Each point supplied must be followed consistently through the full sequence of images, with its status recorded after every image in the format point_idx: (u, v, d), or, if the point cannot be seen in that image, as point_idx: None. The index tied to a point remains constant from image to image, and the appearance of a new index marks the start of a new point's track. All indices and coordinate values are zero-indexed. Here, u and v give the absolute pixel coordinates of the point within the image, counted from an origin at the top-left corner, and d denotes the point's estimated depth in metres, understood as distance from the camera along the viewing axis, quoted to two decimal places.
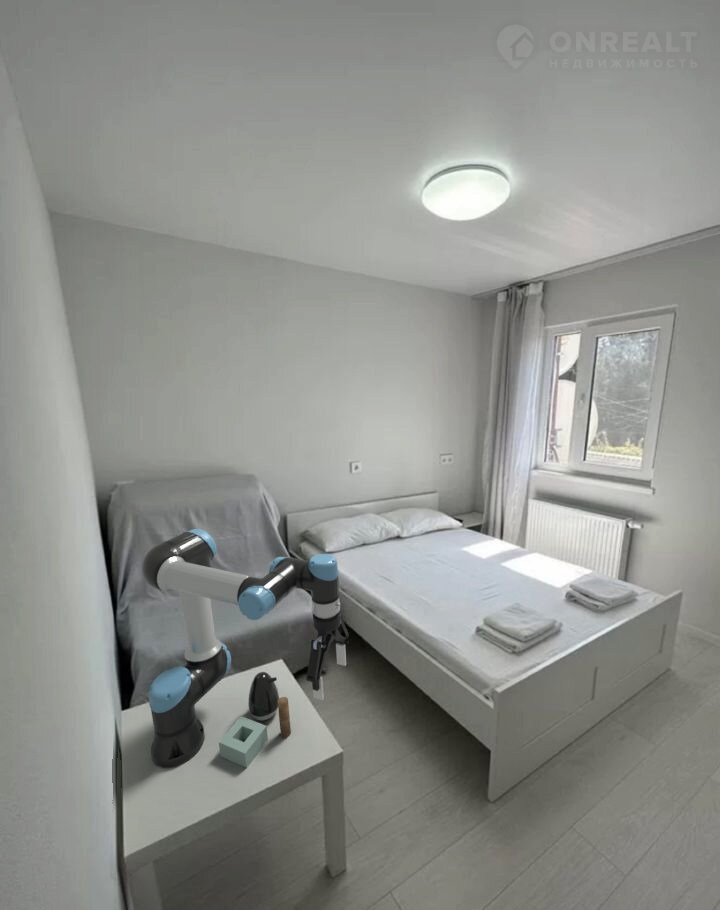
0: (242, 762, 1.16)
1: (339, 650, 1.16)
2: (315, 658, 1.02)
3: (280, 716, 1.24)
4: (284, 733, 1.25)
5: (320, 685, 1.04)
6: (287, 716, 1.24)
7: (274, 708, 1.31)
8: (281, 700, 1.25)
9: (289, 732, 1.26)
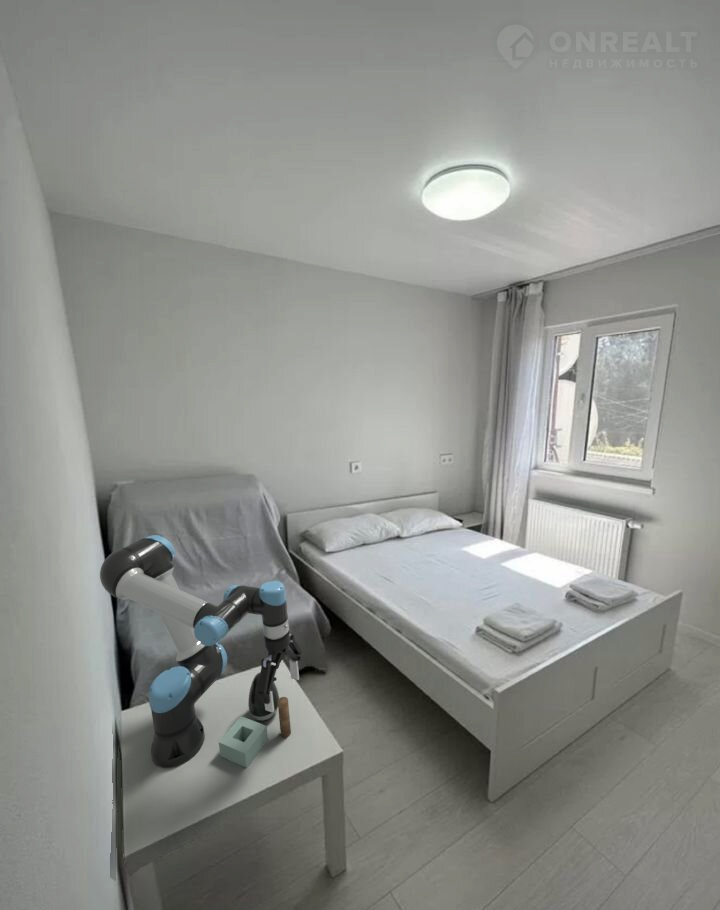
0: (242, 762, 1.16)
1: (292, 666, 1.29)
2: (264, 675, 1.14)
3: (280, 716, 1.24)
4: (284, 733, 1.25)
5: (270, 699, 1.16)
6: (287, 716, 1.24)
7: (274, 708, 1.31)
8: (281, 700, 1.25)
9: (289, 732, 1.26)
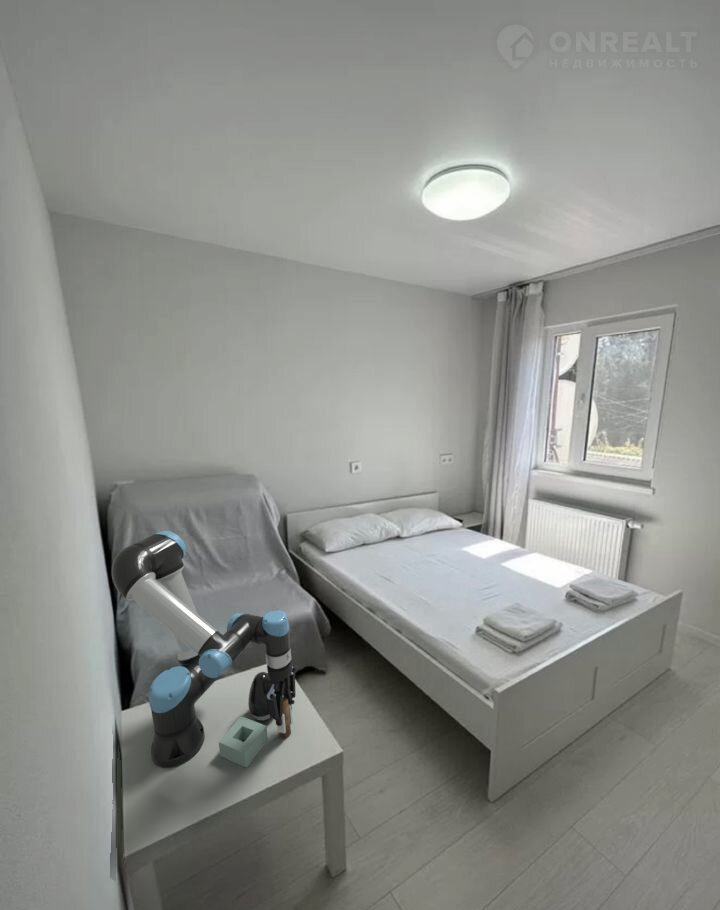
0: (242, 762, 1.16)
1: None
2: (272, 705, 1.18)
3: None
4: None
5: (282, 721, 1.23)
6: (287, 716, 1.24)
7: None
8: None
9: (289, 732, 1.26)
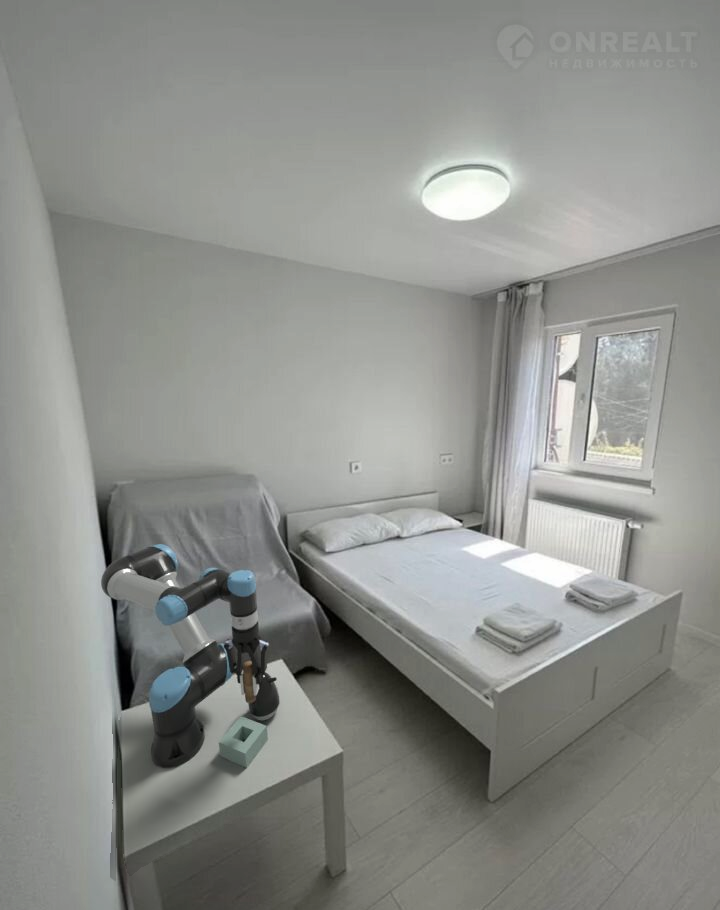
0: (242, 762, 1.16)
1: None
2: None
3: None
4: (245, 695, 1.20)
5: None
6: (246, 682, 1.18)
7: (274, 708, 1.31)
8: (248, 663, 1.19)
9: (248, 700, 1.20)
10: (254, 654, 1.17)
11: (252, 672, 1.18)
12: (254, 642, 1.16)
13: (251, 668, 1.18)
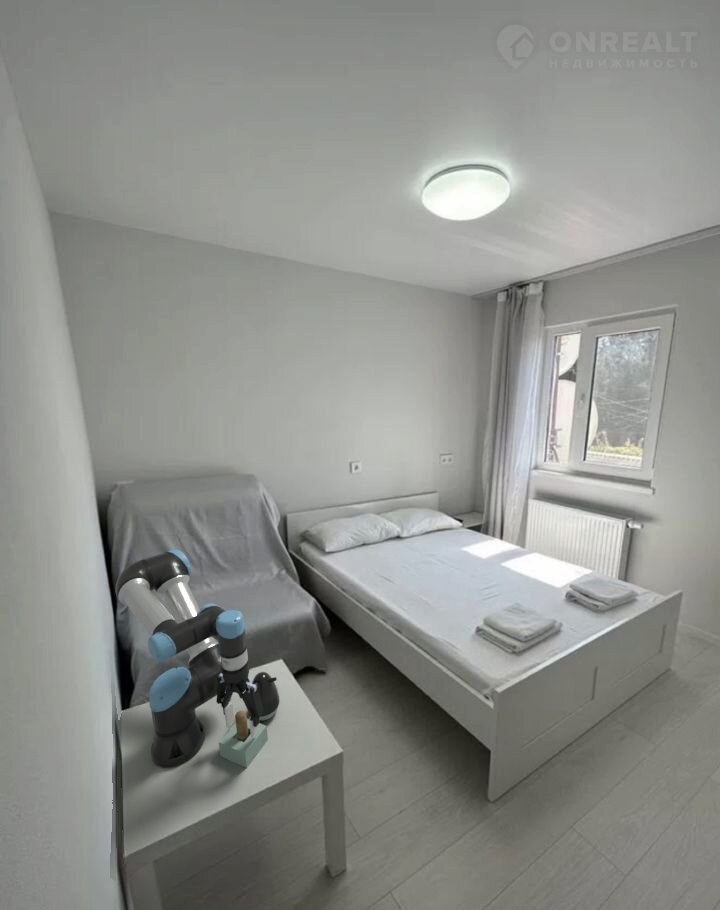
0: (242, 762, 1.16)
1: None
2: None
3: None
4: None
5: None
6: (237, 732, 1.19)
7: (274, 708, 1.31)
8: (241, 713, 1.20)
9: None
10: (245, 695, 1.16)
11: (243, 723, 1.19)
12: (241, 684, 1.16)
13: (242, 719, 1.19)
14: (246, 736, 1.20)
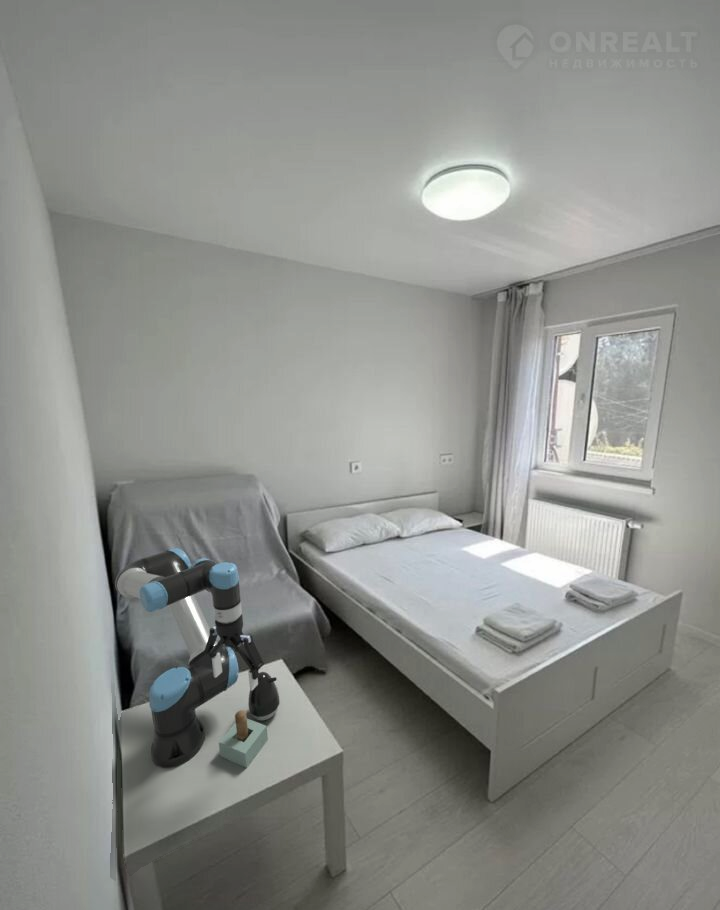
0: (242, 762, 1.16)
1: None
2: None
3: None
4: None
5: None
6: (237, 732, 1.20)
7: (274, 708, 1.31)
8: (241, 713, 1.20)
9: None
10: (241, 648, 1.14)
11: (243, 723, 1.19)
12: (235, 638, 1.13)
13: (242, 719, 1.19)
14: (246, 736, 1.20)
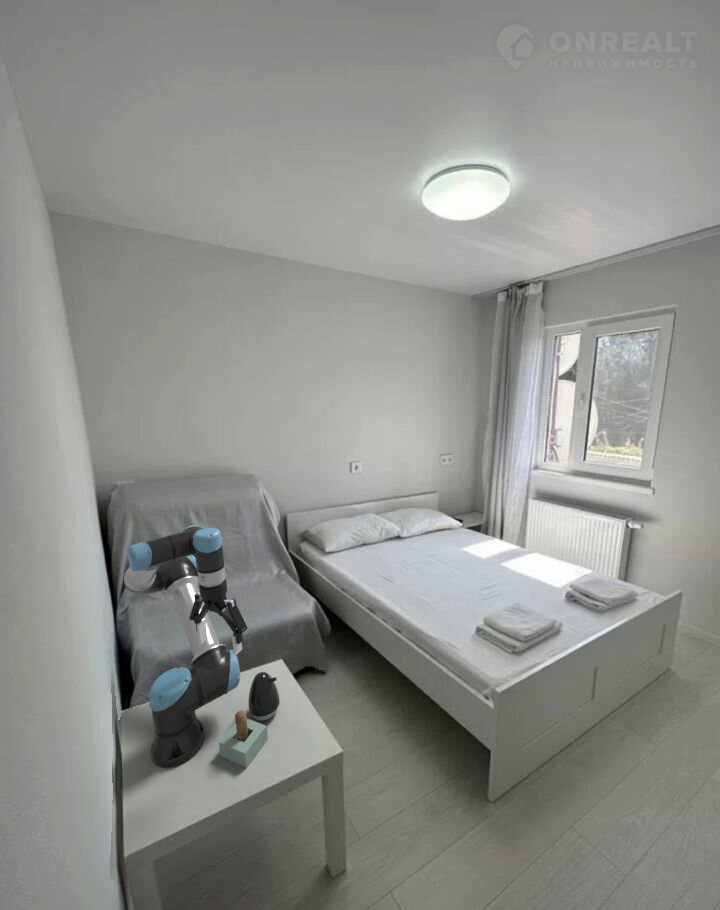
0: (242, 762, 1.16)
1: None
2: None
3: None
4: None
5: None
6: (237, 732, 1.19)
7: (274, 708, 1.31)
8: (241, 713, 1.20)
9: None
10: (225, 612, 1.15)
11: (243, 723, 1.19)
12: (219, 602, 1.14)
13: (242, 719, 1.19)
14: (246, 736, 1.20)
